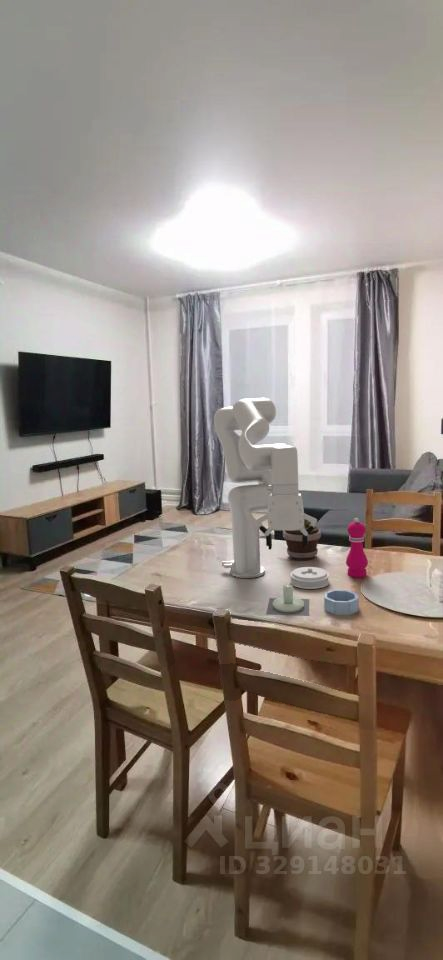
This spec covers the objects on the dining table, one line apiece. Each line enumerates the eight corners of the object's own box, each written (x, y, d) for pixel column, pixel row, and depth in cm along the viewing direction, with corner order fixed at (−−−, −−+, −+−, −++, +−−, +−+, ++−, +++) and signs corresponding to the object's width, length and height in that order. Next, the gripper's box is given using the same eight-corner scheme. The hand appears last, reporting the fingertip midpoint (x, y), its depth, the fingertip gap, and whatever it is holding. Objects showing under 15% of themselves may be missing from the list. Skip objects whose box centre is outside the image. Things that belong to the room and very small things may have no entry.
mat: (266, 615, 138) (266, 614, 138) (269, 599, 149) (269, 598, 149) (309, 616, 135) (309, 615, 135) (309, 600, 147) (309, 599, 147)
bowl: (324, 615, 136) (324, 601, 135) (324, 602, 145) (323, 589, 144) (359, 616, 134) (359, 602, 134) (356, 603, 143) (356, 590, 143)
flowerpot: (293, 549, 201) (292, 502, 198) (328, 554, 192) (327, 504, 189) (275, 559, 189) (274, 508, 186) (312, 564, 180) (311, 511, 177)
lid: (282, 585, 161) (282, 571, 160) (305, 575, 170) (304, 561, 169) (314, 594, 152) (314, 579, 151) (336, 583, 161) (336, 569, 160)
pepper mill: (368, 578, 163) (368, 520, 160) (346, 577, 165) (346, 520, 162) (366, 571, 170) (366, 515, 167) (345, 571, 172) (345, 515, 169)
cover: (271, 612, 139) (271, 591, 138) (274, 600, 148) (273, 580, 147) (303, 613, 137) (303, 591, 136) (304, 600, 146) (303, 580, 145)
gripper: (253, 492, 135) (255, 552, 138) (316, 491, 132) (317, 552, 134) (256, 488, 143) (258, 544, 145) (316, 486, 140) (317, 544, 142)
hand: (287, 548), depth 140 cm, fingers open, 9 cm apart
